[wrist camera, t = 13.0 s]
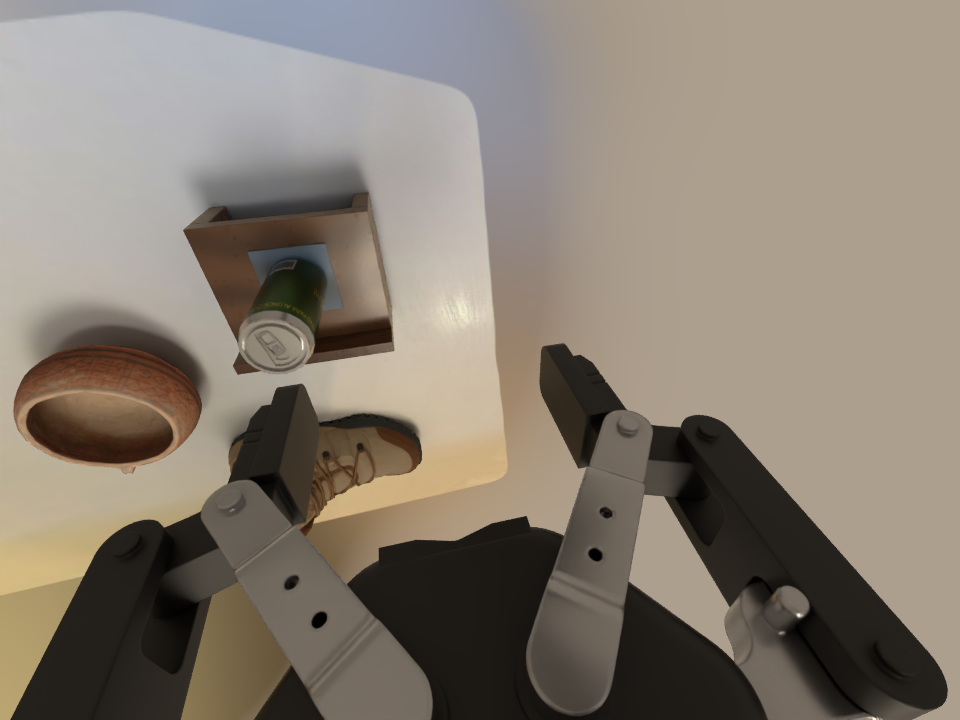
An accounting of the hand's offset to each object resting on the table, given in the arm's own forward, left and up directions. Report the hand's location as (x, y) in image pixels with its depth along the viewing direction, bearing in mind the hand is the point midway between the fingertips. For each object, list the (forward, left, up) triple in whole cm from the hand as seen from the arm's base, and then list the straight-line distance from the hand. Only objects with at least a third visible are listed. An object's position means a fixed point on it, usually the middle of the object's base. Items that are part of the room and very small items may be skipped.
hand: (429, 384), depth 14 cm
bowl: (+21, -35, -36) cm, 55 cm away
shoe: (+38, -16, -36) cm, 55 cm away
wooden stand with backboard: (+9, -11, -36) cm, 39 cm away
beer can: (+8, -11, -29) cm, 32 cm away
